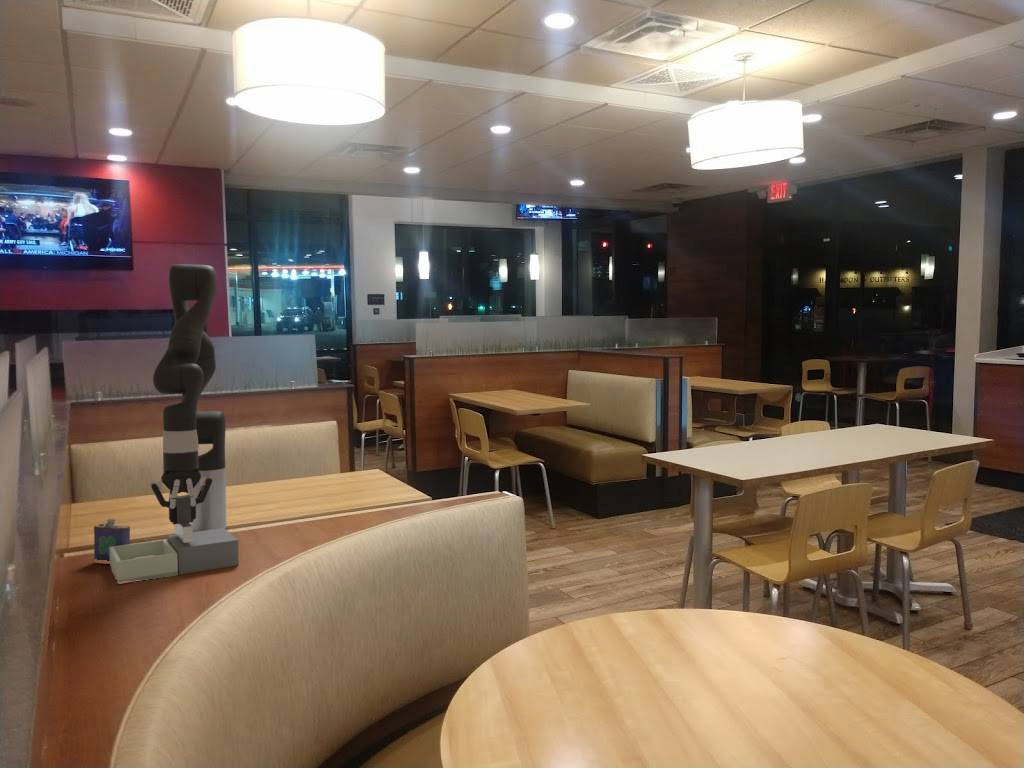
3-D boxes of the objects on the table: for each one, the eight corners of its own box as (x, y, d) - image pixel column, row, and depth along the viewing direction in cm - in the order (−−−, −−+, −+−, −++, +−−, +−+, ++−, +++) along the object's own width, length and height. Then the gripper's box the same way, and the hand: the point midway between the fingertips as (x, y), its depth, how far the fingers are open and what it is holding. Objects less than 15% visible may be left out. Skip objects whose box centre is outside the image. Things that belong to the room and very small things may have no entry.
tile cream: (153, 554, 176) (153, 559, 176) (134, 557, 174) (135, 562, 174) (156, 558, 173) (156, 563, 173) (137, 561, 171) (137, 566, 171)
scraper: (172, 533, 178) (171, 493, 178) (185, 531, 180) (184, 492, 180) (181, 543, 168) (179, 501, 168) (195, 541, 170) (194, 499, 170)
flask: (133, 562, 177) (131, 518, 177) (124, 566, 175) (122, 521, 174) (99, 560, 179) (98, 516, 179) (90, 564, 176) (88, 519, 176)
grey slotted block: (168, 560, 180) (167, 535, 179) (224, 551, 187) (224, 528, 186) (178, 574, 168) (178, 548, 168) (238, 565, 175) (238, 539, 175)
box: (110, 568, 173) (109, 546, 173) (166, 559, 180) (165, 539, 180) (117, 585, 161) (117, 562, 160) (177, 575, 167) (177, 553, 167)
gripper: (209, 445, 181) (210, 515, 182) (145, 449, 173) (147, 523, 174) (216, 448, 174) (217, 521, 175) (149, 453, 167) (151, 530, 168)
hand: (182, 522), depth 175 cm, fingers closed on scraper, 3 cm apart
